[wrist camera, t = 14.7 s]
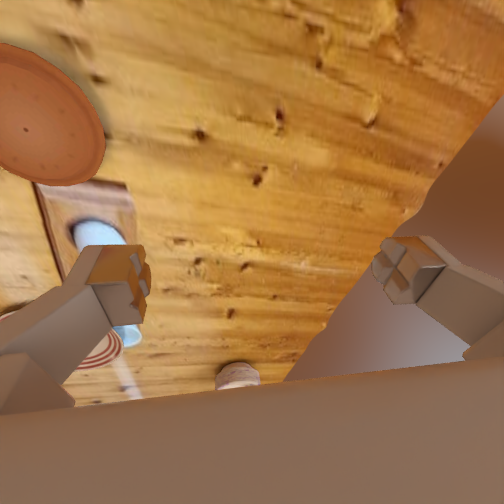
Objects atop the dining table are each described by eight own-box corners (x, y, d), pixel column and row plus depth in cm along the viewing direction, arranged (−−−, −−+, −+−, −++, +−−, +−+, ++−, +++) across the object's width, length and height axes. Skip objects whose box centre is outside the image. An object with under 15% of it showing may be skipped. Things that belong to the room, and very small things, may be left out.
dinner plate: (-36, 327, 56) (-47, 341, 53) (57, 282, 51) (49, 294, 48) (72, 369, 73) (67, 380, 71) (148, 338, 68) (146, 349, 66)
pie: (-1, 166, 35) (-25, 182, 32) (-65, 21, 26) (-111, 19, 22) (118, 182, 39) (109, 198, 35) (103, 60, 29) (88, 65, 26)
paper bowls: (214, 359, 82) (215, 385, 76) (260, 355, 84) (264, 380, 78) (214, 379, 91) (214, 403, 86) (255, 375, 94) (258, 398, 88)
